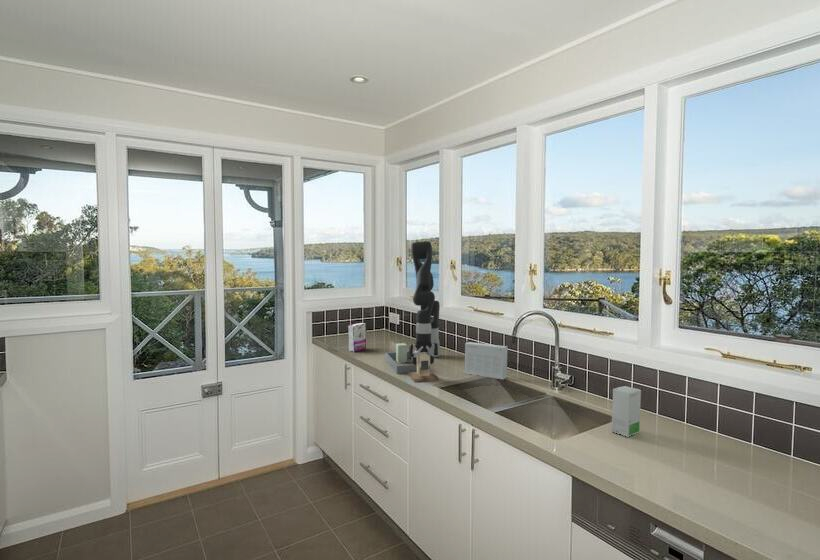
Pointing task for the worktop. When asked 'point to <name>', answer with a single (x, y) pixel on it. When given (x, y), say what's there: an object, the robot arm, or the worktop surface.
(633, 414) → the skincare box
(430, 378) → the walnut board
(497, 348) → the skincare box
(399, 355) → the sage block
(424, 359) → the birch block
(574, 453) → the worktop surface
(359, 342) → the candy bar box
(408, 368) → the grey bin
